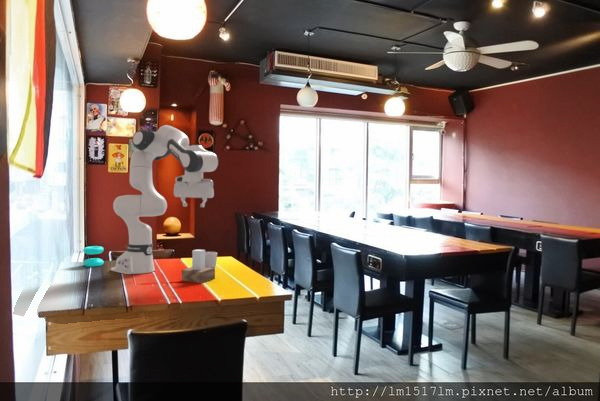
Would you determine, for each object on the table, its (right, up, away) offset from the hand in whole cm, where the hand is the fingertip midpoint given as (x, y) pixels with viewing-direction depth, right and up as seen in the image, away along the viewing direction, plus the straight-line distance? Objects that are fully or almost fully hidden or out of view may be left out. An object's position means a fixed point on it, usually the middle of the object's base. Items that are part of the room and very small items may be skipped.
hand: (193, 206), depth 224 cm
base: (+4, -35, -6) cm, 35 cm away
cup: (+2, -33, +22) cm, 40 cm away
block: (+4, -30, -6) cm, 30 cm away
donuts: (-59, -32, +23) cm, 71 cm away
